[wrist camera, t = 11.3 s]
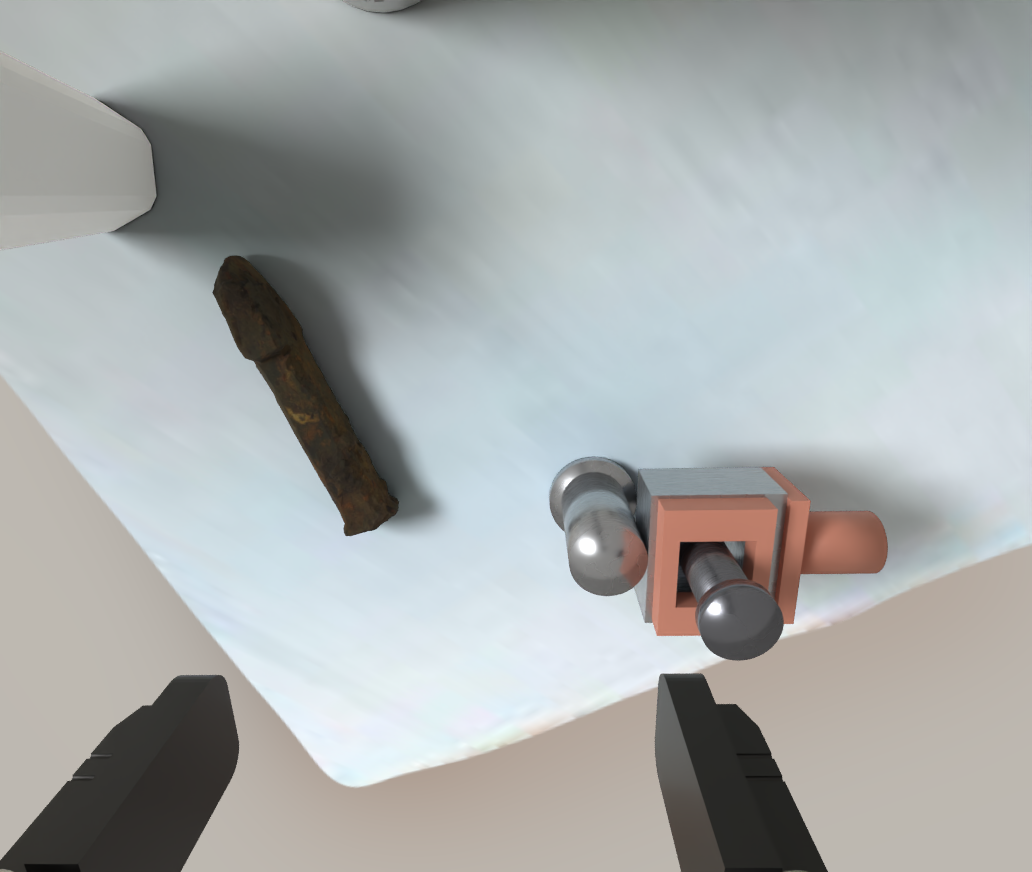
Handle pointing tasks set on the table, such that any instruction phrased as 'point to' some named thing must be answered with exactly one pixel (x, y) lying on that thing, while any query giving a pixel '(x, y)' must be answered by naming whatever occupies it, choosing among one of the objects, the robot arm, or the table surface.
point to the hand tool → (302, 394)
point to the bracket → (760, 547)
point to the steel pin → (729, 603)
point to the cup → (65, 161)
